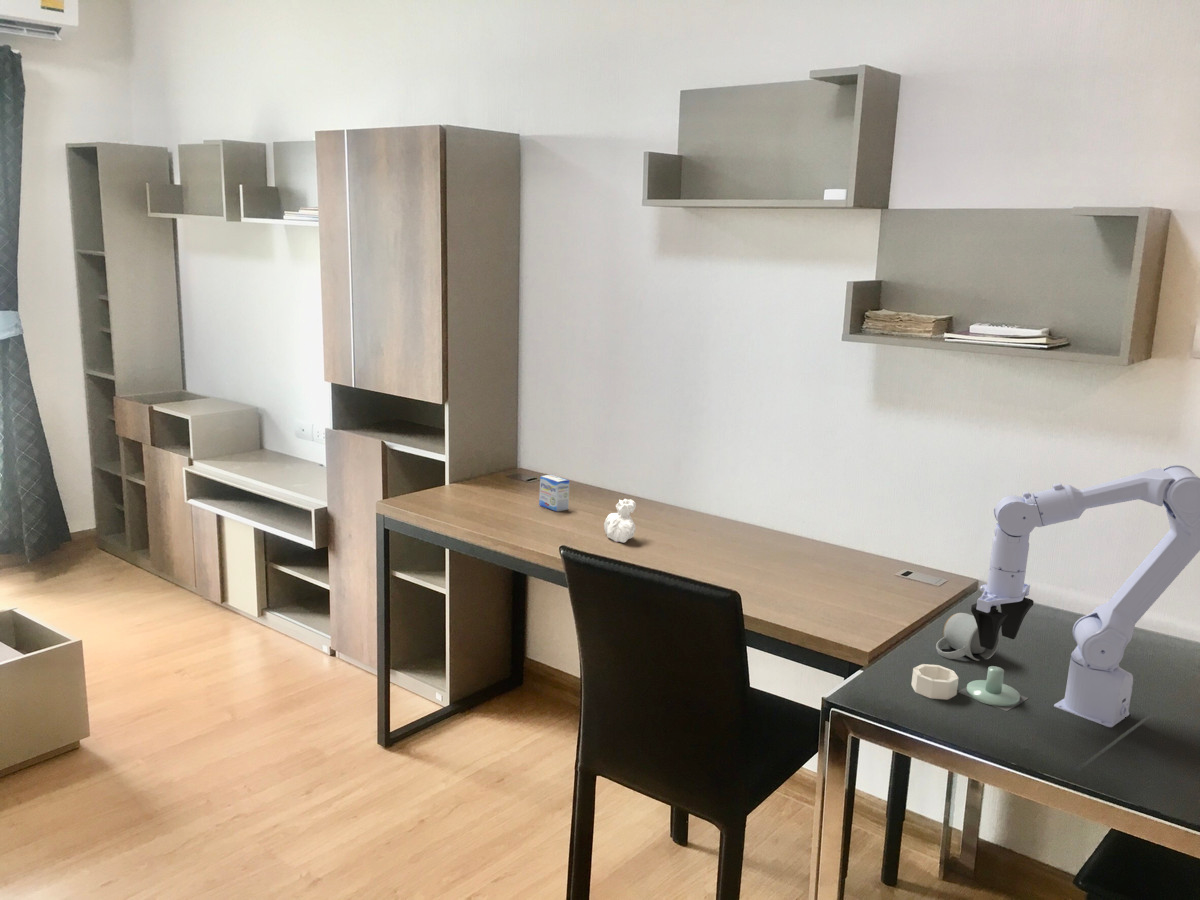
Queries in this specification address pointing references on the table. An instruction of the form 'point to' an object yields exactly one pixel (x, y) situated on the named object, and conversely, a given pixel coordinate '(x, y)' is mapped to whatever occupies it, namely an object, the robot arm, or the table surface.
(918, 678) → the bowl
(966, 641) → the ceramic mug
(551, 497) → the medicine box
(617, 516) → the white tied sack
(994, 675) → the lid
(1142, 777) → the table surface
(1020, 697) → the mat
